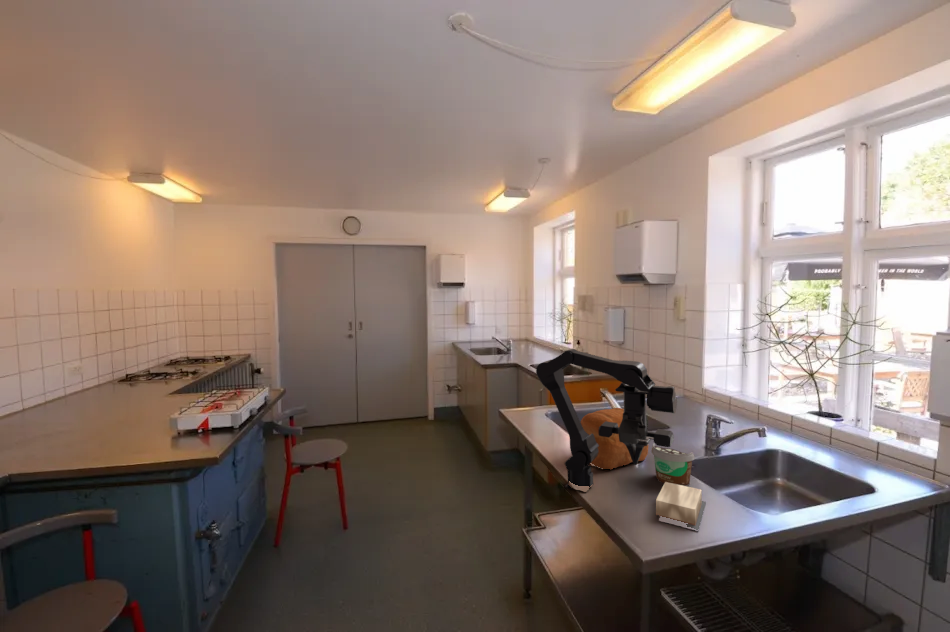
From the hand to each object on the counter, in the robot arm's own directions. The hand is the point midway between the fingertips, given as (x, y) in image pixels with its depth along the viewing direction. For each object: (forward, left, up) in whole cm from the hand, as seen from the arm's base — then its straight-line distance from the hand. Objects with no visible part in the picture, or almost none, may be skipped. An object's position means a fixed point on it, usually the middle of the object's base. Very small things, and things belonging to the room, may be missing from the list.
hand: (635, 463), depth 115 cm
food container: (+6, +16, -11) cm, 20 cm away
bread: (-14, +25, -11) cm, 31 cm away
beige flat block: (+6, 0, -8) cm, 10 cm away
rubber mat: (+12, 0, -10) cm, 16 cm away
